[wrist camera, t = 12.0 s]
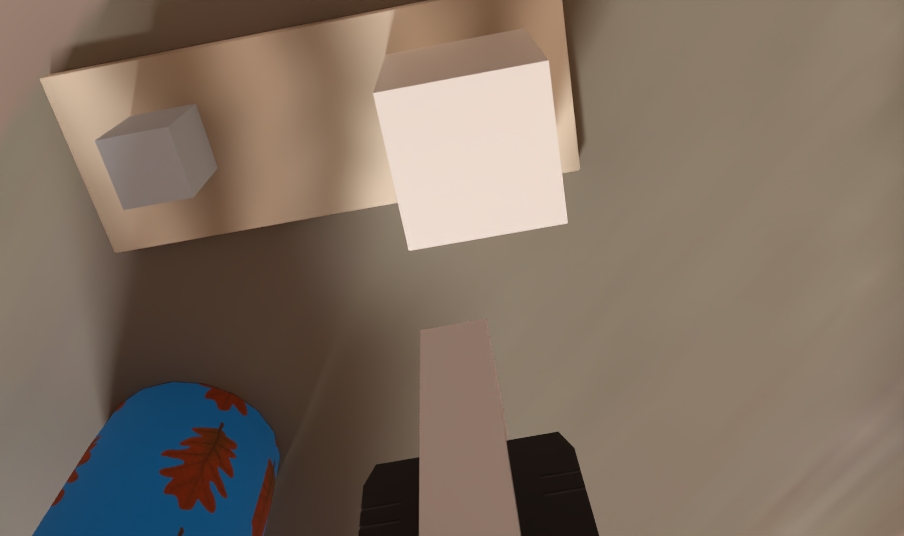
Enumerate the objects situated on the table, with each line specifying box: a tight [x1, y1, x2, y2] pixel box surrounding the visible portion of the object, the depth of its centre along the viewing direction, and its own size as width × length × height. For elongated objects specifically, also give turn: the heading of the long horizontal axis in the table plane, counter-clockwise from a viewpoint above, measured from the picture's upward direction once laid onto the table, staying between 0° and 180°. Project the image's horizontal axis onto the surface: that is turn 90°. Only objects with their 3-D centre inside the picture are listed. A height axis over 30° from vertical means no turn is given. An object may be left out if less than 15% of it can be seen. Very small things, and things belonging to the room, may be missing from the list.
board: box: [40, 0, 580, 253], centre depth 35 cm, size 24×9×1 cm, turn 100°
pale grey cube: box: [95, 104, 218, 210], centre depth 33 cm, size 3×3×4 cm
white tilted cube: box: [373, 28, 568, 251], centre depth 31 cm, size 6×6×8 cm
